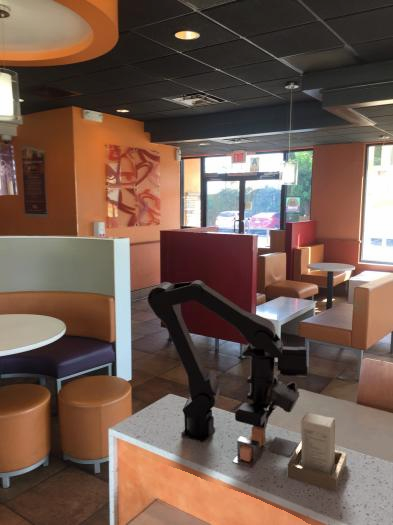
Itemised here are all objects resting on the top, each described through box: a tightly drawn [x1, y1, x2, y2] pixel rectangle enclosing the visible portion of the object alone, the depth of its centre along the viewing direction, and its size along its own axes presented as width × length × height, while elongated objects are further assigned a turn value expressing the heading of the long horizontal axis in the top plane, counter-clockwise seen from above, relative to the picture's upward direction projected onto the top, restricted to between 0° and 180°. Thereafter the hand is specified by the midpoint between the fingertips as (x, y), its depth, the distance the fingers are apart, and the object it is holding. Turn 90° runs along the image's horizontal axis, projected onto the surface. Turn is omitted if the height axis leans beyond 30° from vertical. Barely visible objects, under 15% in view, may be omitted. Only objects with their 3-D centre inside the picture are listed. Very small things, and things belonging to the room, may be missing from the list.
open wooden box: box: [286, 442, 348, 493], centre depth 95 cm, size 10×10×3 cm
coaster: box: [266, 436, 299, 458], centre depth 105 cm, size 6×6×1 cm
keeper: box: [232, 436, 268, 469], centre depth 102 cm, size 5×9×4 cm, turn 150°
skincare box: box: [300, 411, 336, 476], centre depth 95 cm, size 6×4×12 cm
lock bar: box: [240, 425, 266, 461], centre depth 102 cm, size 3×9×4 cm, turn 150°
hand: (261, 433), depth 108 cm, fingers closed
